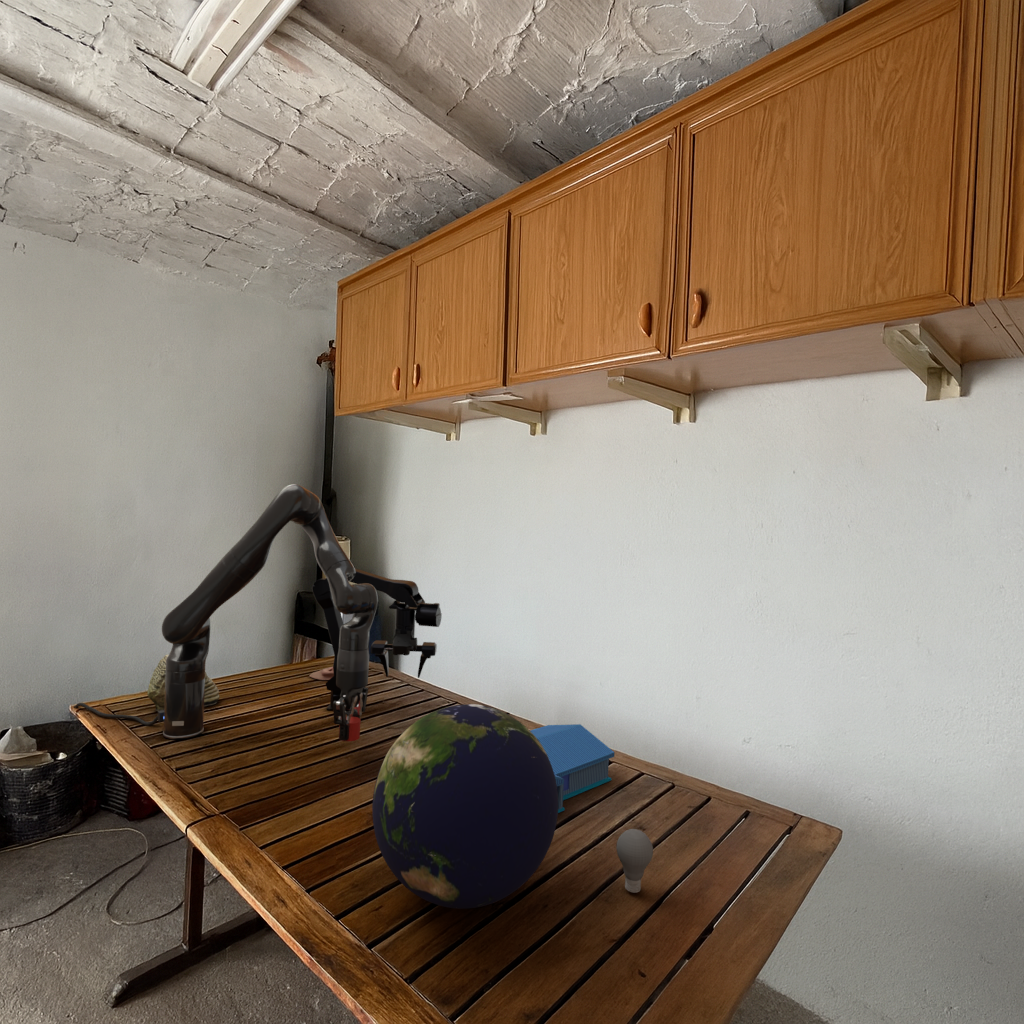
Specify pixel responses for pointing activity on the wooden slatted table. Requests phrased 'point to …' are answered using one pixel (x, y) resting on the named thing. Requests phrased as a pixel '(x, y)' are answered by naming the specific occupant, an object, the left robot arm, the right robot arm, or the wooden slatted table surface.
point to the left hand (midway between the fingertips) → (349, 735)
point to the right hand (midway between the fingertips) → (402, 677)
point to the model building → (574, 758)
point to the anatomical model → (323, 674)
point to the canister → (354, 729)
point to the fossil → (158, 687)
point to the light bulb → (634, 857)
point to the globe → (465, 806)
